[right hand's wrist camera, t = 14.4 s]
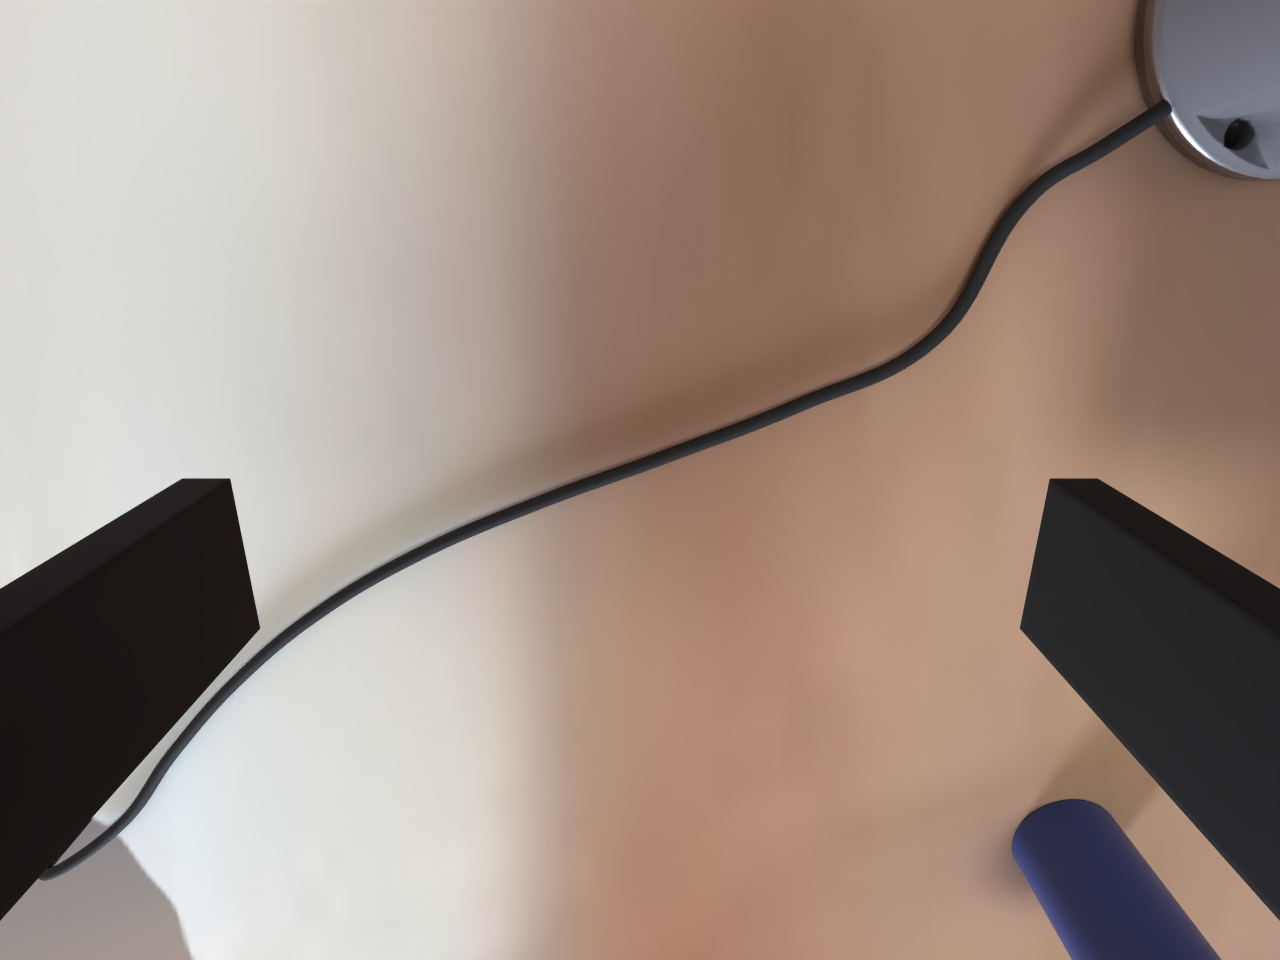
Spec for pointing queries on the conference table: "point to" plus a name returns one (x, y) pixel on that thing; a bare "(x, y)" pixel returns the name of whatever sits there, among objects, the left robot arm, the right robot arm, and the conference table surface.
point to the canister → (1101, 888)
